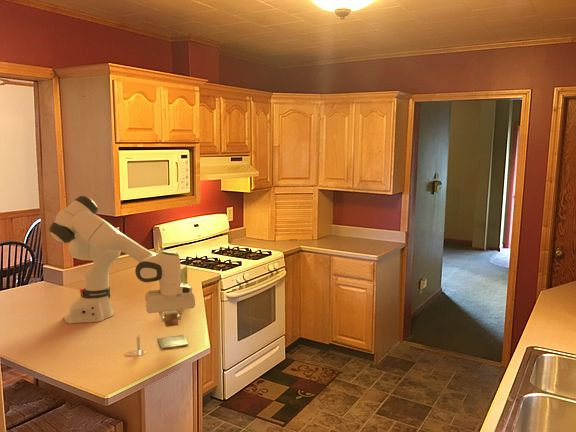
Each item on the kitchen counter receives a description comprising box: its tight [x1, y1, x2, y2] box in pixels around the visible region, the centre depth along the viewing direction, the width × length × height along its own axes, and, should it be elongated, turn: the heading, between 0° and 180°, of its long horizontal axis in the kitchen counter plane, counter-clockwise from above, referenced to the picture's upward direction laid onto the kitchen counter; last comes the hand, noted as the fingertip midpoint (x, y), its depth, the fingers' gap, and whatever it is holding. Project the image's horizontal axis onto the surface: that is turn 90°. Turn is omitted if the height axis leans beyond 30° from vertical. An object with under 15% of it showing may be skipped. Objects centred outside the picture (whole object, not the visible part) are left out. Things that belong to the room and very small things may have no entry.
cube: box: [163, 310, 179, 328], centre depth 209 cm, size 5×5×5 cm
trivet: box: [157, 334, 189, 350], centre depth 211 cm, size 11×11×1 cm
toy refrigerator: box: [180, 264, 188, 284], centre depth 257 cm, size 8×7×21 cm
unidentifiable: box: [124, 334, 146, 357], centre depth 199 cm, size 8×5×8 cm
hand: (171, 320), depth 209 cm, fingers closed on cube, 5 cm apart
